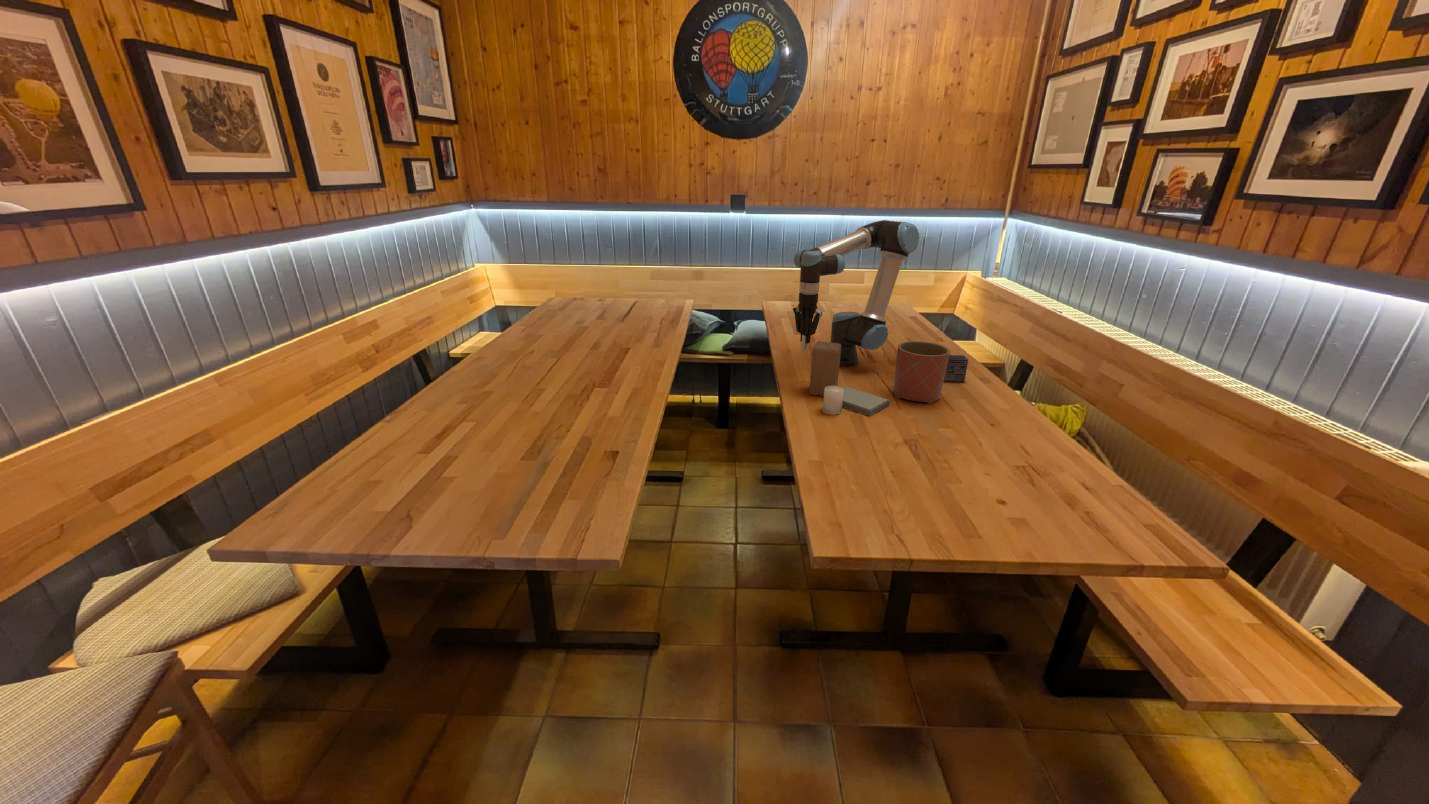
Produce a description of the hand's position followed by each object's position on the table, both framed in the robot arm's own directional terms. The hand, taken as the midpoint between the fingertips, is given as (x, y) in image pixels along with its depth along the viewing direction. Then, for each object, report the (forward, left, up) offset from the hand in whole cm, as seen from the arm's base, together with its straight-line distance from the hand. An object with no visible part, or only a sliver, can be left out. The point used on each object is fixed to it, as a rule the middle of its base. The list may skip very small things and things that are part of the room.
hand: (804, 350), depth 225 cm
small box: (+41, +51, -16) cm, 67 cm away
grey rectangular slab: (+27, 0, -15) cm, 31 cm away
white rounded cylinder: (+24, -13, -16) cm, 31 cm away
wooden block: (+11, 0, -16) cm, 19 cm away
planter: (+39, +24, -16) cm, 48 cm away
